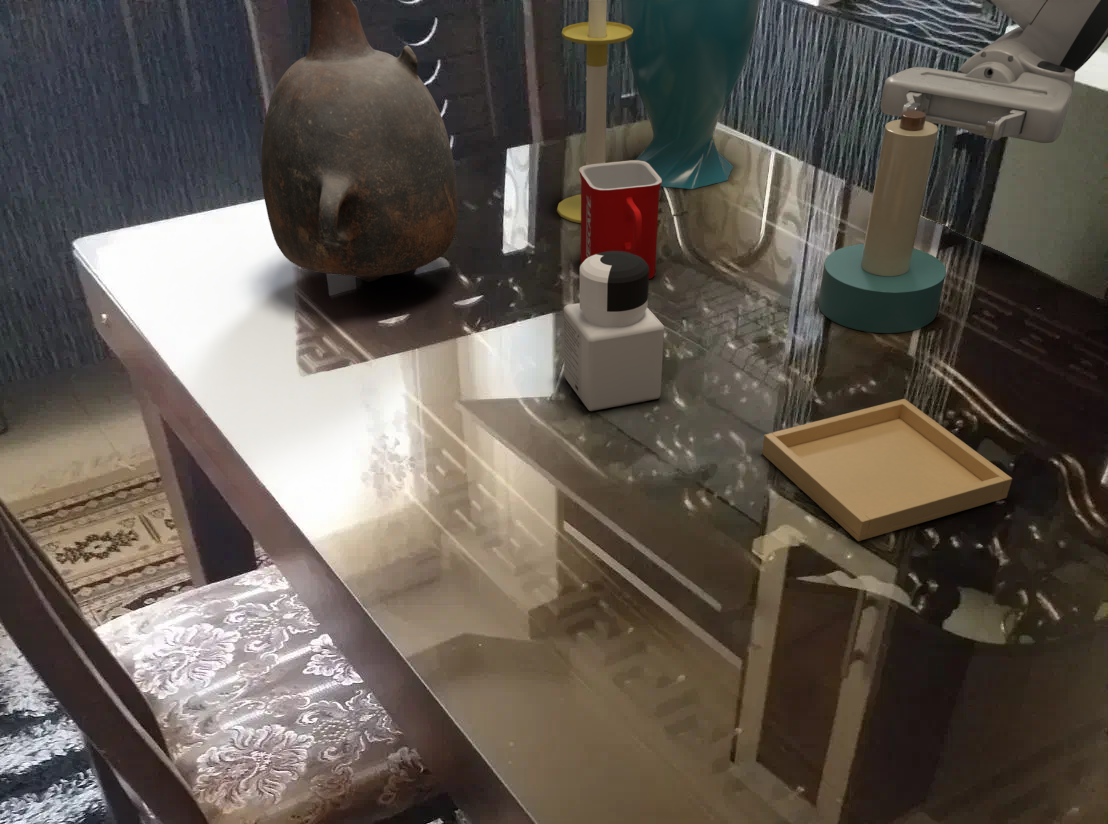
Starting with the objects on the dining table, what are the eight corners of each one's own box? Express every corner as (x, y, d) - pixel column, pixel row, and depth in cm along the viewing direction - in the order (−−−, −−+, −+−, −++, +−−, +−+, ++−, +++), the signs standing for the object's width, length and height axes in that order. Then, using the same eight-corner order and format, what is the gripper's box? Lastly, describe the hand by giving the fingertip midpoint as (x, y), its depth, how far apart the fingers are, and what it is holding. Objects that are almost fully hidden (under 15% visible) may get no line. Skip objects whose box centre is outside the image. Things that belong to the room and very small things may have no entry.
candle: (648, 207, 150) (664, -154, 124) (600, 230, 145) (607, -141, 118) (589, 189, 155) (592, -162, 128) (541, 212, 150) (534, -150, 123)
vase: (662, 201, 152) (677, -75, 130) (595, 162, 162) (599, -98, 141) (768, 176, 157) (798, -92, 136) (696, 140, 168) (714, -113, 147)
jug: (490, 306, 130) (473, -2, 109) (303, 339, 125) (248, 22, 104) (430, 228, 146) (406, -54, 125) (263, 254, 142) (208, -34, 120)
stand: (890, 274, 134) (898, 235, 131) (961, 318, 126) (971, 278, 123) (795, 295, 131) (801, 255, 128) (861, 342, 122) (869, 301, 119)
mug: (575, 259, 139) (575, 165, 131) (641, 252, 140) (645, 159, 133) (600, 301, 131) (602, 204, 123) (670, 293, 132) (675, 196, 124)
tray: (900, 417, 111) (904, 398, 110) (1006, 498, 101) (1012, 478, 100) (761, 453, 107) (764, 434, 106) (858, 541, 97) (862, 521, 96)
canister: (890, 253, 128) (919, 103, 117) (919, 271, 124) (951, 117, 113) (851, 262, 126) (876, 110, 115) (878, 280, 123) (908, 125, 112)
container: (633, 365, 120) (637, 238, 110) (661, 399, 115) (669, 269, 105) (563, 377, 118) (562, 250, 109) (588, 413, 113) (589, 282, 104)
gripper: (913, 45, 134) (864, 75, 126) (1090, 73, 126) (1050, 107, 118) (902, 104, 139) (854, 137, 131) (1072, 135, 130) (1032, 172, 122)
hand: (948, 123), depth 124 cm, fingers open, 8 cm apart
